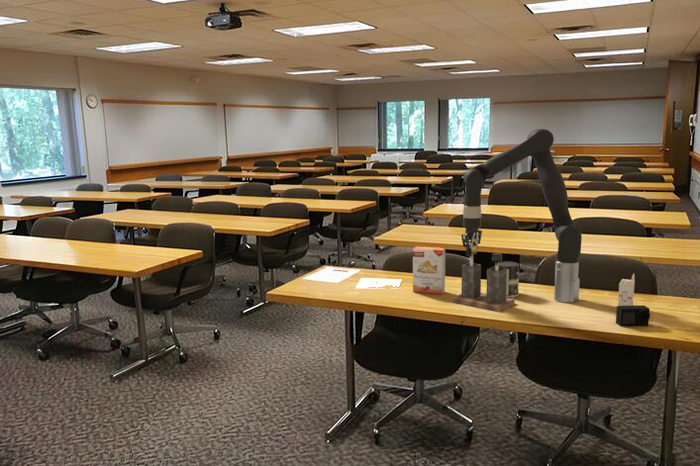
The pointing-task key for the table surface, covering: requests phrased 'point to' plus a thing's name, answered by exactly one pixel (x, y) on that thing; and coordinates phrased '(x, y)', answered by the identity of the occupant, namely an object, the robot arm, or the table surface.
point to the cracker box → (429, 270)
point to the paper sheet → (377, 282)
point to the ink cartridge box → (626, 292)
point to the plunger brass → (472, 255)
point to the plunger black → (497, 259)
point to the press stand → (495, 288)
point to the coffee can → (511, 277)
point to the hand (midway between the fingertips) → (471, 255)
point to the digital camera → (632, 315)
